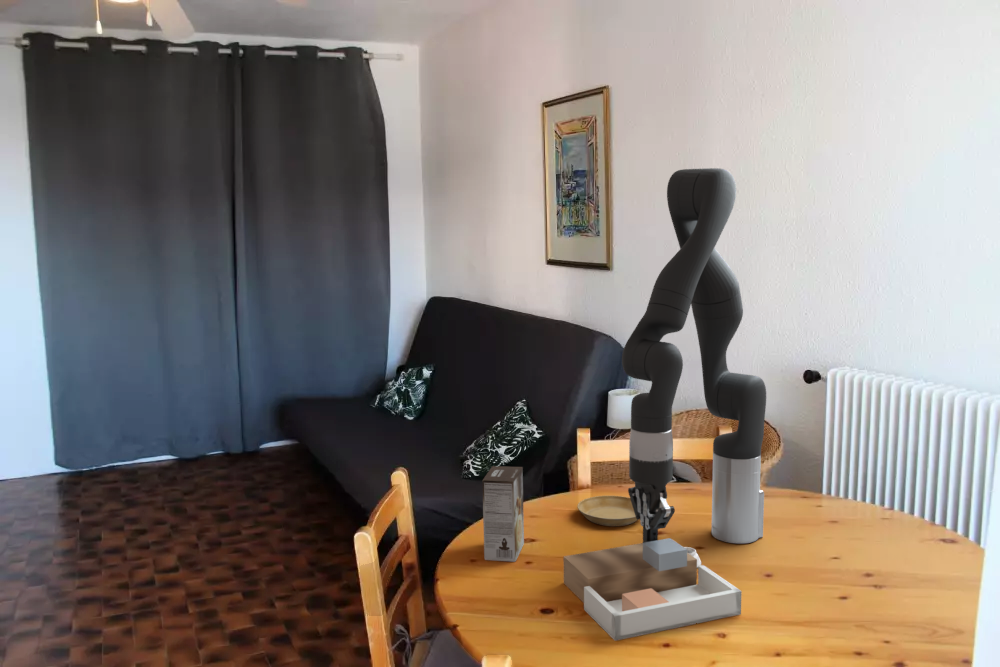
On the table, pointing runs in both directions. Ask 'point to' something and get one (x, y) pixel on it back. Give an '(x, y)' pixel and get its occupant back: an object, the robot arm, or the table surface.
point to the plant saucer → (608, 510)
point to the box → (667, 607)
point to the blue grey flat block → (664, 554)
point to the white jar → (694, 555)
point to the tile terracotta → (641, 599)
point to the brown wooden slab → (622, 573)
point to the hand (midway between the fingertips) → (650, 547)
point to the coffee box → (503, 513)
